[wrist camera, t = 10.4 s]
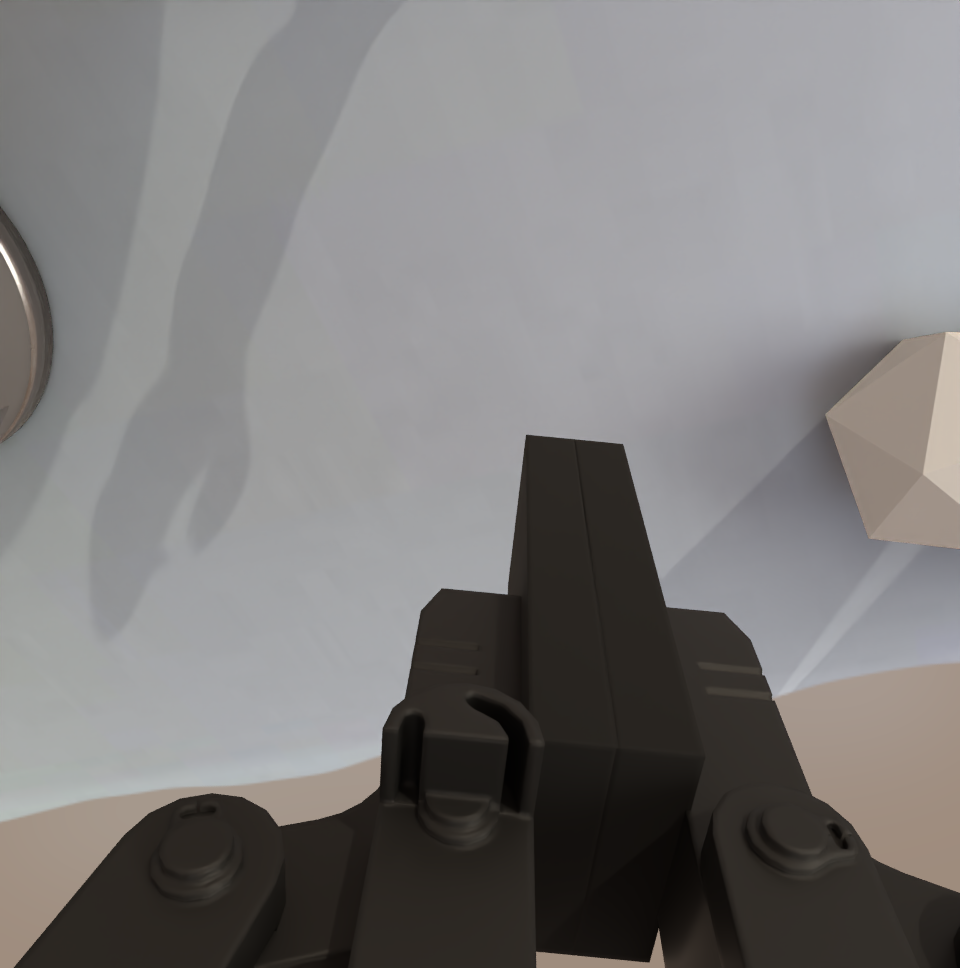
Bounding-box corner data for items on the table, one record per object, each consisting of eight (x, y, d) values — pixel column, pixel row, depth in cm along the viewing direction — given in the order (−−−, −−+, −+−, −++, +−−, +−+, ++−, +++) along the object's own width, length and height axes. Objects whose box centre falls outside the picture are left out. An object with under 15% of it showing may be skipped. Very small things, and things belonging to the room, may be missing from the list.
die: (964, 508, 39) (1209, 495, 30) (818, 582, 36) (1037, 593, 27) (904, 334, 39) (1132, 264, 29) (751, 394, 36) (950, 338, 26)
